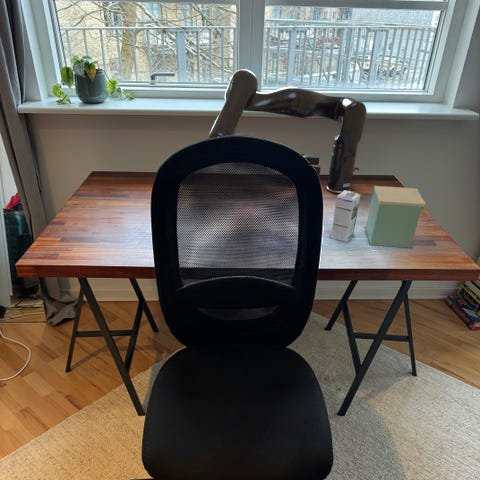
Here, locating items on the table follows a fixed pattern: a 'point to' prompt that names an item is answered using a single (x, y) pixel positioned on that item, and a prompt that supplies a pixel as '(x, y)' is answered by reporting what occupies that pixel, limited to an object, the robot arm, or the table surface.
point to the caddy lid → (399, 196)
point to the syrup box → (345, 215)
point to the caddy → (391, 223)
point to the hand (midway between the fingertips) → (319, 165)
